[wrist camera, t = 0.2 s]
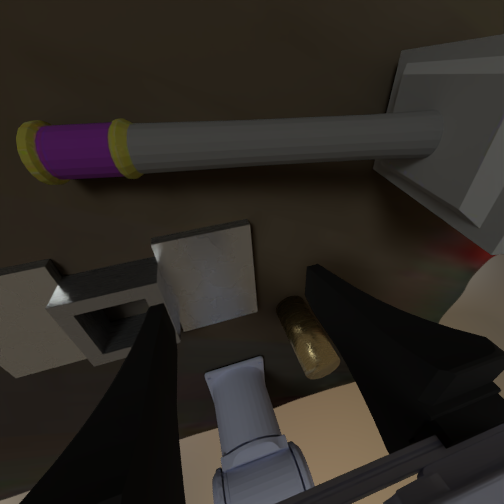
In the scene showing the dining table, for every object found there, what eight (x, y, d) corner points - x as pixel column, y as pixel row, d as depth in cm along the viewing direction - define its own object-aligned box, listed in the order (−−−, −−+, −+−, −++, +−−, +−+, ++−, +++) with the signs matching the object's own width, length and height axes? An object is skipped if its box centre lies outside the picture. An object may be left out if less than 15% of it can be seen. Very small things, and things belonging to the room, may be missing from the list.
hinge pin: (302, 312, 31) (337, 372, 25) (276, 320, 30) (304, 383, 24) (304, 292, 29) (342, 352, 23) (275, 300, 28) (307, 363, 22)
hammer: (-41, 303, 10) (719, 266, 10) (-311, 51, 5) (1120, -25, 5) (118, 176, 22) (452, 159, 22) (79, 68, 17) (500, 46, 17)
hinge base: (255, 305, 28) (264, 329, 25) (20, 368, 23) (1, 406, 21) (247, 219, 21) (259, 239, 18) (-79, 284, 17) (-127, 324, 14)
